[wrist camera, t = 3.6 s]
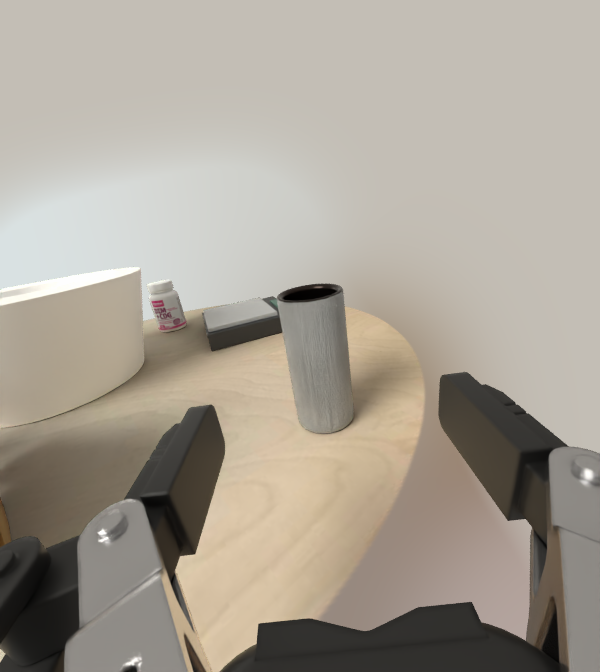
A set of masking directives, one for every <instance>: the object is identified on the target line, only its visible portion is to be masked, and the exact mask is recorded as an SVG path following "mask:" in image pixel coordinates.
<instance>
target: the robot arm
mask: <svg viewBox="0 0 600 672" xmlns="http://www.w3.org/2000/svg"><path fill="white" fill-rule="evenodd" d="M439 391H440V392H439V419H440V423H441V426H442V428H443V430H444V431H445V433H446V434H447V436H448V437H449V438H450V440H451V441H452V443H453V444H454V445H455V447H456V448H457V450H458V451H459V453H460V454H461V455H462V457H463V458H464V459H465V461H466V462H467V464H468V465H469V467H470V468H471V469H472V471H473V472H474V473H475V475H476V476H477V478H478V479H479V481H480V482H481V483H482V485H483V486H484V488H485V489H486V490H487V492H488V493H489V495H490V496H491V497H492V499H493V500H494V502H495V503H496V505H497V506H498V507H499V509H500V510H501V511H502V513H503V514H504V516H505V517H506V519H507V520H508V521H510V520H518V519H526V520H527V521H528V522H529V524H530V525H531V526H532V530H531V536H530V538H531V539H530V543H531V544H530V608H529V619H528V627H527V636H526V641H525V640H523V639H522V638H520V637H518V636H516V635H514V634H511V633H510V632H508V631H505V630H503V629H501V628H498V627H495V626H492V625H489V624H486V623H481V621H480V619H479V617H478V615H477V612H476V610H475V608H474V606H473V604H472V602H467V603H456V604H446V605H438V606H427V607H418V608H416V609H414V610H412V611H410V612H408V613H406V614H404V615H402V616H399V617H398V618H395V619H393V620H391V621H389V622H387V623H385V624H383V625H381V626H379V627H377V628H375V629H373V630H370V631H360V630H355V629H351V628H347V627H343V626H339V625H335V624H331V623H327V622H322V621H318V620H314V619H310V618H309V619H299V620H290V621H280V622H270V623H260V624H258V635H257V644H256V645H254V646H252V647H250V648H248V649H247V650H245V651H244V652H242V653H241V654H239V655H238V656H236V657H235V658H234V659H233V660H232V661H230V662H229V663H228V664H227V665H226V666H225V667H224V668H223V669H222V670H221V671H220V672H600V454H599V453H597V452H594V451H591V450H587V449H583V448H578V447H569V446H567V445H566V444H565V443H563V442H562V441H561V440H560V439H559V438H558V437H556V436H555V435H554V434H553V433H552V432H550V431H549V430H548V429H547V428H545V427H544V426H543V425H541V424H540V423H539V422H538V421H537V420H536V419H534V418H533V417H532V416H531V415H530V414H527V413H526V411H525V410H524V409H522V408H521V407H520V406H519V405H516V404H515V402H514V401H513V400H511V399H510V398H509V397H508V396H507V395H505V394H504V393H503V392H501V391H499V390H496V389H495V388H492V387H490V386H488V385H486V384H485V385H481V384H480V383H479V382H478V381H477V380H475V379H474V378H473V377H472V376H471V375H470V374H468V373H467V372H463V373H454V374H447V375H442V377H441V378H440V390H439ZM224 455H225V441H224V437H223V434H222V431H221V427H220V424H219V421H218V417H217V414H216V411H215V408H214V407H213V405H206V406H198V407H191V408H189V409H188V411H187V413H186V414H185V416H184V418H183V420H182V421H181V423H179V424H175V425H174V426H173V427H172V428H171V429H169V430H168V431H167V432H166V433H165V434H164V435H163V436H162V438H161V440H160V441H159V443H158V445H157V446H156V450H154V451H153V453H152V454H151V456H150V460H148V461H147V463H146V464H145V466H144V467H143V469H142V471H141V472H140V474H139V476H138V477H137V479H136V481H135V482H134V484H133V485H132V487H131V489H130V490H129V492H128V494H127V495H126V497H125V499H124V500H122V501H119V502H117V503H114V504H112V505H110V506H109V507H107V508H106V509H104V510H103V511H101V512H100V513H99V514H97V515H96V516H95V517H94V518H93V519H92V520H91V521H90V522H89V523H88V525H87V526H86V527H85V528H84V530H83V532H82V533H81V535H79V536H76V537H74V538H71V539H69V540H66V541H64V542H61V543H59V544H56V545H54V546H51V547H49V548H46V549H45V547H44V546H43V545H42V543H41V542H40V541H39V539H38V538H36V537H32V536H28V537H23V538H19V539H16V540H14V541H12V542H9V543H7V544H5V545H4V546H2V547H0V649H1V650H2V651H3V652H4V653H5V656H4V658H3V659H2V661H1V662H0V672H212V669H211V667H210V664H209V662H208V659H207V657H206V655H205V652H204V650H203V647H202V645H201V642H200V639H199V637H198V634H197V631H196V628H195V625H194V622H193V619H192V616H191V613H190V610H189V607H188V604H187V601H186V599H185V596H184V593H183V590H182V587H181V584H180V581H179V578H178V575H177V573H176V571H175V569H176V566H177V563H178V560H179V557H180V556H184V555H193V554H195V553H196V550H197V546H198V543H199V540H200V536H201V533H202V529H203V526H204V523H205V519H206V516H207V513H208V509H209V506H210V503H211V499H212V496H213V493H214V489H215V486H216V483H217V479H218V476H219V473H220V469H221V466H222V463H223V459H224Z"/></svg>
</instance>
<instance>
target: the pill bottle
mask: <svg viewBox="0 0 600 672" xmlns="http://www.w3.org/2000/svg"><path fill="white" fill-rule="evenodd" d="M147 288H148V291H149V293H151V295H150V296H149V302H150V304H151V307H152V310H153V313H154V316H155V319H156V322H157V325H158V328H159V330H160V331H161V332H171V331H175V330H179V329H181V328H183V327H185V326H186V324H187V323H186V319H185V316H184V312H183V309H182V306H181V303H180V299H179V296H178V294H177V292H176V291H175V290H173V284H172V281H171V280H162V281H157V282H153V283H149V284H147Z"/></svg>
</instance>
